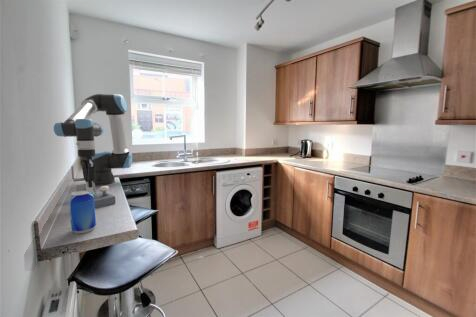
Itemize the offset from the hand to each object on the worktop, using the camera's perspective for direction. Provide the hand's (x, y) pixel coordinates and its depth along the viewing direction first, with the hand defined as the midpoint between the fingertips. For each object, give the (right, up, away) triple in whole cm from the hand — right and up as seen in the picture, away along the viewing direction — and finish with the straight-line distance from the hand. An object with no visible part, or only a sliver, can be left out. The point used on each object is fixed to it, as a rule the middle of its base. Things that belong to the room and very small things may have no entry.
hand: (90, 192), depth 123 cm
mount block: (+2, -7, +4) cm, 8 cm away
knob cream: (+4, -2, +6) cm, 8 cm away
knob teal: (0, -5, +1) cm, 5 cm away
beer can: (+15, -11, -27) cm, 33 cm away
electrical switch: (-10, -6, +13) cm, 17 cm away
